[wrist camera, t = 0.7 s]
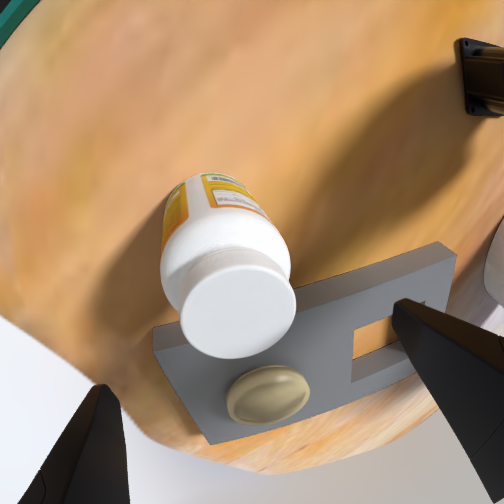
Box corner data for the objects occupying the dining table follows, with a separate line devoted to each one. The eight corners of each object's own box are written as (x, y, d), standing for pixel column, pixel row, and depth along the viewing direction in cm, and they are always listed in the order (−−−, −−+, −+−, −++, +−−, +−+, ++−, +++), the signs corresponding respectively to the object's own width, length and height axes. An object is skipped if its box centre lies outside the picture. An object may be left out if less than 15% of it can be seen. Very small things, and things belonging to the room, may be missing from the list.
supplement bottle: (185, 267, 20) (199, 389, 12) (149, 192, 17) (126, 287, 9) (264, 235, 20) (327, 339, 12) (237, 156, 18) (296, 217, 9)
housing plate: (438, 241, 24) (468, 263, 21) (418, 350, 31) (436, 374, 28) (153, 327, 22) (152, 368, 18) (207, 425, 28) (212, 458, 25)
